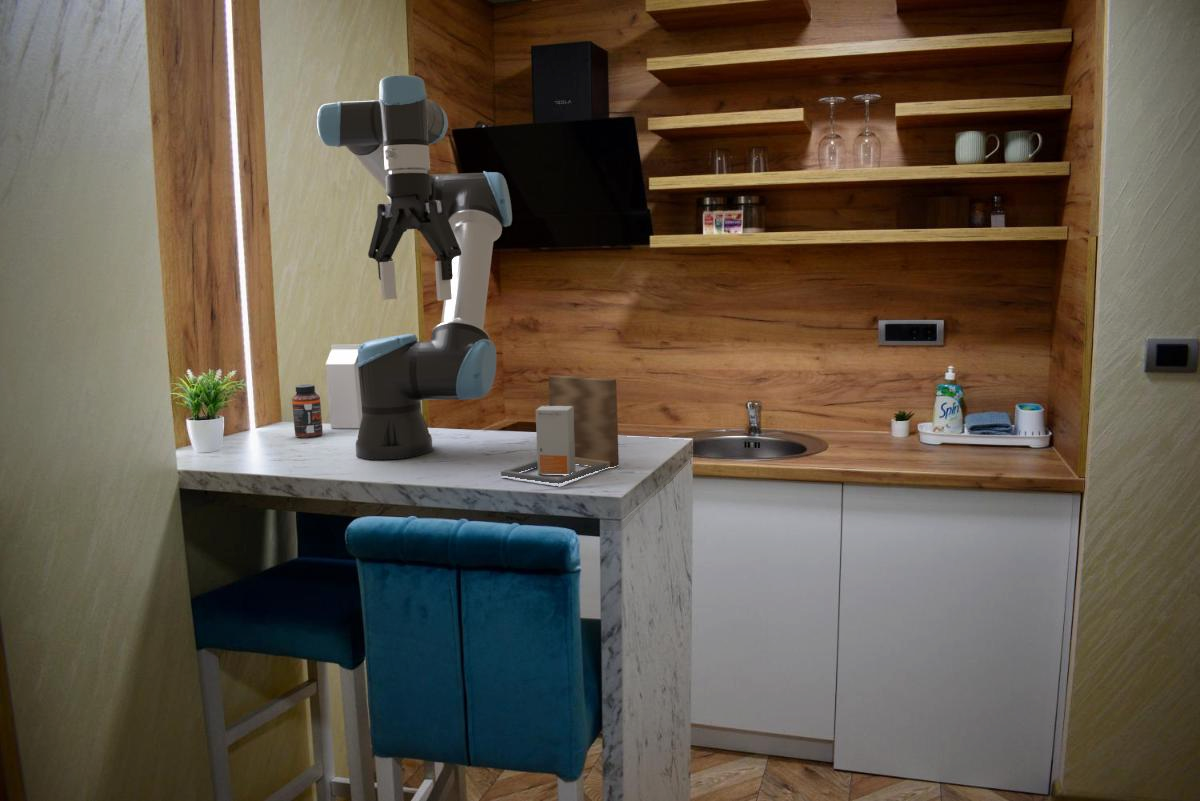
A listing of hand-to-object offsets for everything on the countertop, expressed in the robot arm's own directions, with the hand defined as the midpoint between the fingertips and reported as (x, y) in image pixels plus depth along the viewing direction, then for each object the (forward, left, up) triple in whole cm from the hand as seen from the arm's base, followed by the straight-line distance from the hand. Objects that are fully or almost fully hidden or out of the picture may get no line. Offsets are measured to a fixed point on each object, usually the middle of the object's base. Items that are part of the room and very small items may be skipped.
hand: (416, 299), depth 161 cm
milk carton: (-52, +26, -32) cm, 66 cm away
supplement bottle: (-52, +14, -32) cm, 63 cm away
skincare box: (+18, +14, -32) cm, 39 cm away
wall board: (+18, +22, -32) cm, 43 cm away
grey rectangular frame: (+18, +14, -32) cm, 39 cm away
